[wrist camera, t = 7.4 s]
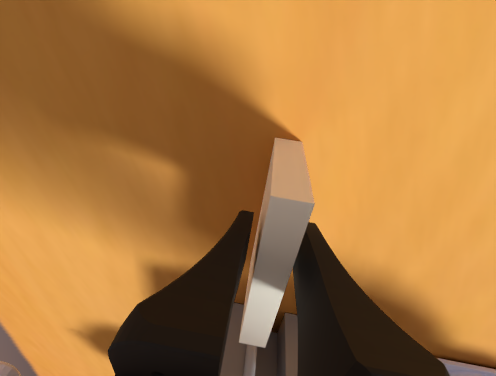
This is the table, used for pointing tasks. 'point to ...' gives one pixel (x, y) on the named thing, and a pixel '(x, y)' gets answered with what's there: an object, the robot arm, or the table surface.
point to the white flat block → (276, 239)
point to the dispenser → (261, 350)
